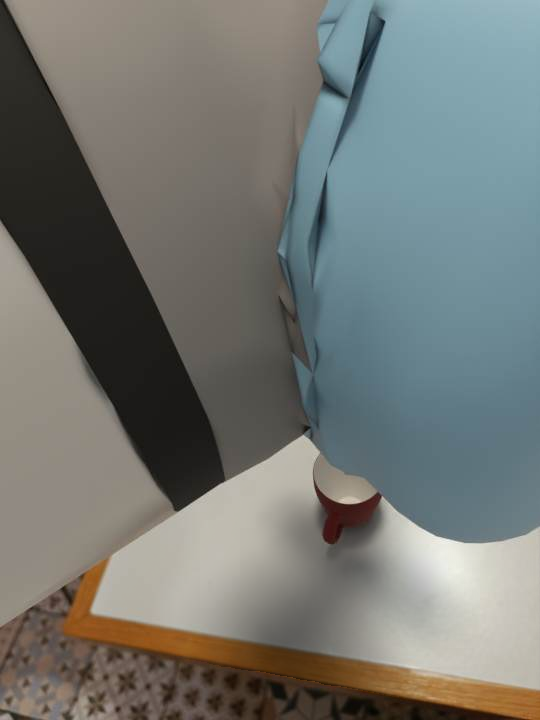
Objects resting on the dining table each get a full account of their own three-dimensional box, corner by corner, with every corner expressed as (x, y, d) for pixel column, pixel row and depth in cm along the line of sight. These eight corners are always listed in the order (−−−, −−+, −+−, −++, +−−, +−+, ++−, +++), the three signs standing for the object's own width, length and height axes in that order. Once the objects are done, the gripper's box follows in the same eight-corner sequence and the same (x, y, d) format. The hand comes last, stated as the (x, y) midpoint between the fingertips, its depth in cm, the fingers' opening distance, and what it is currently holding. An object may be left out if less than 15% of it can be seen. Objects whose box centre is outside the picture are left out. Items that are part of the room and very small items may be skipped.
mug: (369, 570, 61) (370, 535, 53) (304, 550, 63) (296, 514, 56) (388, 491, 67) (391, 449, 60) (327, 475, 70) (323, 434, 62)
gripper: (656, 191, 22) (528, 461, 37) (211, 100, 33) (255, 334, 49) (603, 296, 18) (485, 546, 34) (125, 152, 30) (202, 387, 45)
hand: (349, 420), depth 41 cm, fingers open, 13 cm apart
